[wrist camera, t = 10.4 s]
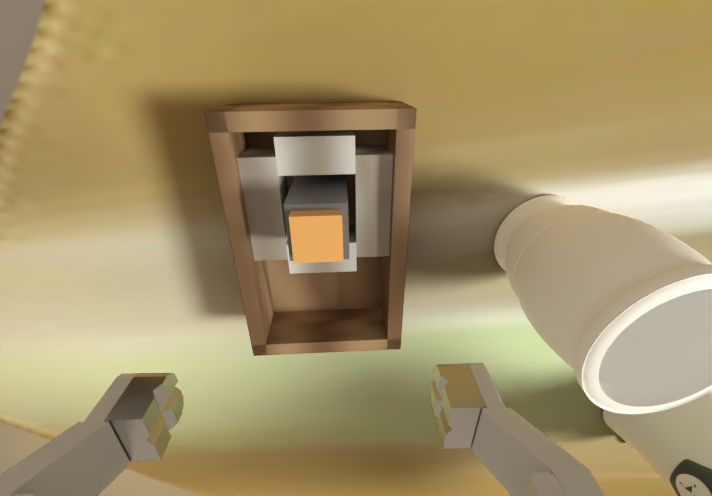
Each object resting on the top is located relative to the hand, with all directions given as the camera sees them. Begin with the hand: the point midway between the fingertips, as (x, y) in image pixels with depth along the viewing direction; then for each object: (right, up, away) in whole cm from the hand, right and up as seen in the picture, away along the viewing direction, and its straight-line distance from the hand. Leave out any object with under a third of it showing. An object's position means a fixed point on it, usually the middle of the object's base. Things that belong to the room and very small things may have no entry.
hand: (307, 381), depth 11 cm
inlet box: (-1, +6, +20) cm, 21 cm away
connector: (-1, +8, +17) cm, 19 cm away
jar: (+19, +5, +21) cm, 29 cm away
